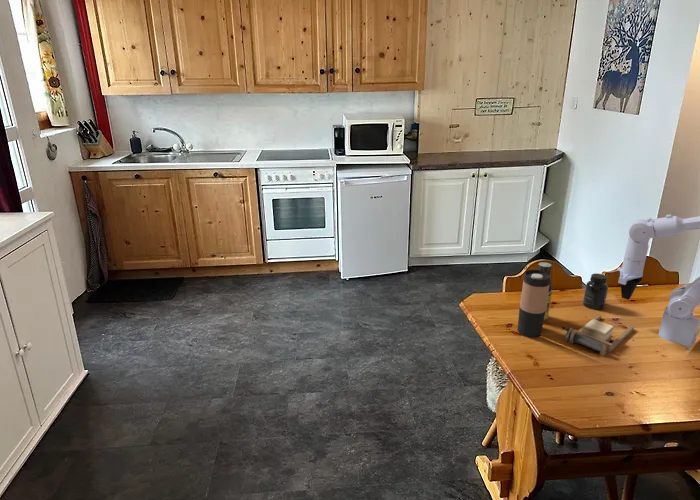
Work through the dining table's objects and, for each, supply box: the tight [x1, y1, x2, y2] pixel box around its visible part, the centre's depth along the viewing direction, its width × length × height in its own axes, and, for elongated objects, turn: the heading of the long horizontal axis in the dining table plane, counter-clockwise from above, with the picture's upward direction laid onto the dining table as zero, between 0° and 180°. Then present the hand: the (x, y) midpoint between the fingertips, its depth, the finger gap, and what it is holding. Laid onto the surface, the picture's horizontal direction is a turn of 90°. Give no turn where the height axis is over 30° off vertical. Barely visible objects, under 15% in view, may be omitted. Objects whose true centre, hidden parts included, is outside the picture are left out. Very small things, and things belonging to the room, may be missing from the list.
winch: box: [561, 325, 608, 357], centre depth 145 cm, size 13×4×5 cm, turn 43°
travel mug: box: [517, 269, 552, 339], centre depth 151 cm, size 8×8×20 cm
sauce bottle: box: [537, 261, 553, 323], centre depth 158 cm, size 6×6×20 cm
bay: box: [573, 313, 635, 354], centre depth 151 cm, size 11×19×4 cm, turn 133°
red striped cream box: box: [583, 318, 614, 343], centre depth 147 cm, size 6×6×5 cm
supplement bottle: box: [582, 272, 609, 311], centre depth 167 cm, size 7×7×12 cm
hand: (625, 298), depth 154 cm, fingers closed
